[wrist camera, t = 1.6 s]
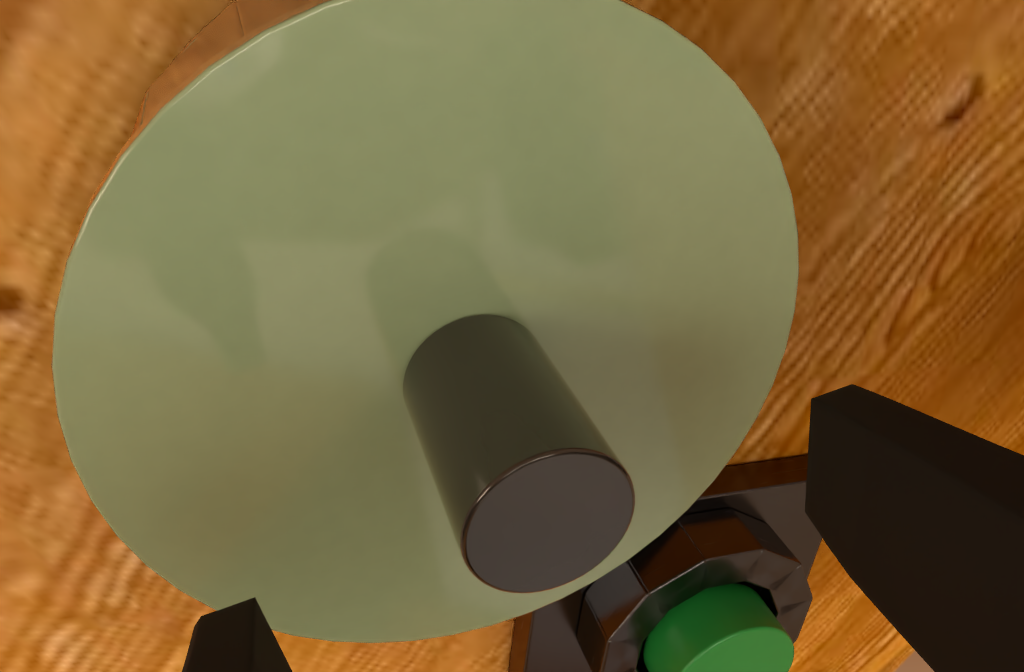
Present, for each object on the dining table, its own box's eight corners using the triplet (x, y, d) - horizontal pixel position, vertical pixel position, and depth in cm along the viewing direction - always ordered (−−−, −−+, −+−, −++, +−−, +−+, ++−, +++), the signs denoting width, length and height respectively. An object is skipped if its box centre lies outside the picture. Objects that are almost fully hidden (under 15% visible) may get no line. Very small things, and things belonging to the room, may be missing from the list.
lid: (844, -11, 13) (1104, 49, 10) (693, 550, 19) (815, 725, 16) (-21, -73, 10) (-167, -15, 6) (120, 652, 15) (96, 920, 12)
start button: (775, 571, 25) (811, 616, 23) (744, 663, 26) (775, 710, 25) (655, 595, 23) (685, 644, 22) (631, 689, 25) (658, 740, 24)
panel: (822, 452, 27) (886, 513, 24) (762, 625, 31) (812, 694, 28) (531, 493, 23) (571, 569, 21) (505, 681, 27) (536, 764, 25)
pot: (677, -25, 17) (840, 21, 13) (598, 420, 23) (693, 558, 19) (73, -69, 14) (15, -27, 9) (152, 472, 19) (139, 658, 15)
